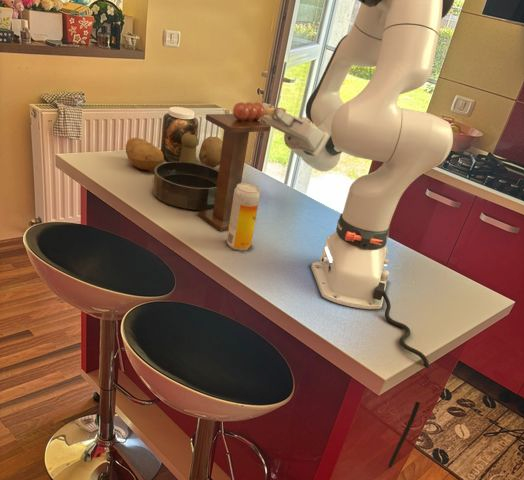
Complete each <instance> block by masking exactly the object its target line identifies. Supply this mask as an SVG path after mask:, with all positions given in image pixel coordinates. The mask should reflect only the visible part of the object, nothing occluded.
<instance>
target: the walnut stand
mask: <svg viewBox="0 0 524 480" xmlns="http://www.w3.org/2000/svg"><path fill="white" fill-rule="evenodd" d="M205 120H206V121H207V122H210V123H211V124H213V125H215V126H217V127H219V128H221V129H222V130H223V136H222V141H223V142H222V150H221V157H220V165H218V171H219V172H218V180H217V188H216V195H215V203H214V209H207V210H198V211H197V216H198V218H201V219H202V220H203V221H205V222H206V223H207V224H209V225H211V226H212V227H213V228H215V229H216V230H217V231H219V232H223V231H228V229H229V222H230V216H231V209H232V202H233V196H234V190H235V188H236V187H237V185H238V184H241V183H242V180H243V174H244V173H243V172H244V168H245V163H246V156H247V149H248V142H249V136H250V133H257V132H259V133H260V132H270V129H271V126H270V125H269V124H267V123H264V122H263V121H260V120H254V119H253V120H246V119H245V120H242V121H240V120H237V119H236V118H235V117H234V115H233V113H212V114H211V113H209V114H207V113H206V114H205Z"/></svg>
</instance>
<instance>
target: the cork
mask: <svg viewBox="0 0 524 480" xmlns="http://www.w3.org/2000/svg"><path fill="white" fill-rule="evenodd" d="M181 142H182V145H183V146H182V150H181V155H180V159H179V162H191V163H197V148H198V147H197V146H198V144H199V137H198V138H197V137H196V136H195V135H192V134H184V135H183V136H182V138H181ZM196 147H197V148H196Z"/></svg>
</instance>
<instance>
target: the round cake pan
mask: <svg viewBox="0 0 524 480" xmlns="http://www.w3.org/2000/svg"><path fill="white" fill-rule="evenodd" d="M218 172H219V169H216V168H215V167H214V168H211V167H208V166H206V165H204V164H200V163H197V162H196V163H191V162H168V161H166V162H163V163H162V164H159V165H157V166H156V167H155V169H154V170H153V184H152V192H153V193H152V194H153V195H154V196H155V197H156V198H157V199H159V200H160V201H161V202H163V203H165V204H167V205H170V206H173V207H177V208H182V209H186V210H187V209H188V210H196V211H197V210H198V211H205V210H212V209H214V203H215V195H216V188H217V180H218Z"/></svg>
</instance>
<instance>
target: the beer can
mask: <svg viewBox="0 0 524 480" xmlns="http://www.w3.org/2000/svg"><path fill="white" fill-rule="evenodd" d="M260 197H261V193H260V188H259V187H258V186H256V185H254V184H251V183H245V182H243V183H242V182H241V184H238V185H237V187H236V188H235V190H234V196H233V202H232V209H231V216H230V222H229V229H228V230H227V235H226V236H227V237H226V243H227V245H228V247H229V248H230V249H232V250H235V251H247V250H248V249H249V248H250V247H251V246H252V241H253V236H254V229H255V224H256V220H257V219H256V218H257V215H258V213H257V212H258V207H259V202H260Z"/></svg>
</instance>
